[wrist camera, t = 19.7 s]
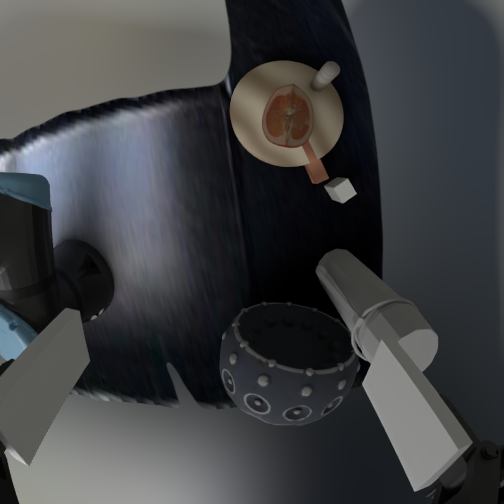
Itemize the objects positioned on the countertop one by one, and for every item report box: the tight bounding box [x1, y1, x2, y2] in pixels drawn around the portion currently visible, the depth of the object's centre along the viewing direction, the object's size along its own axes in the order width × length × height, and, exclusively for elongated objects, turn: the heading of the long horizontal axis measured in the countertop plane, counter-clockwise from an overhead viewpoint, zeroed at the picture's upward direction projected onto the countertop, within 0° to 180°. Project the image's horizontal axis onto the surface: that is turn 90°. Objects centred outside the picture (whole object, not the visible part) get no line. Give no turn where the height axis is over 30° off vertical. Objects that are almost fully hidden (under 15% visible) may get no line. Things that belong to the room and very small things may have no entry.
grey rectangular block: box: [324, 177, 357, 203], centre depth 39 cm, size 2×2×5 cm
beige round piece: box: [230, 61, 343, 184], centre depth 32 cm, size 16×19×10 cm
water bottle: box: [316, 249, 438, 372], centre depth 33 cm, size 9×8×25 cm
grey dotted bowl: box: [220, 302, 360, 425], centre depth 38 cm, size 11×20×20 cm, turn 80°
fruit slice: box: [262, 84, 314, 148], centre depth 32 cm, size 8×7×5 cm
